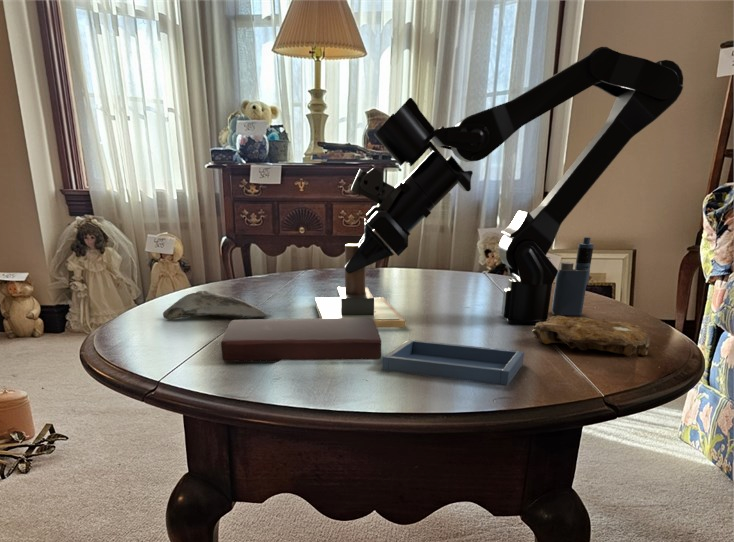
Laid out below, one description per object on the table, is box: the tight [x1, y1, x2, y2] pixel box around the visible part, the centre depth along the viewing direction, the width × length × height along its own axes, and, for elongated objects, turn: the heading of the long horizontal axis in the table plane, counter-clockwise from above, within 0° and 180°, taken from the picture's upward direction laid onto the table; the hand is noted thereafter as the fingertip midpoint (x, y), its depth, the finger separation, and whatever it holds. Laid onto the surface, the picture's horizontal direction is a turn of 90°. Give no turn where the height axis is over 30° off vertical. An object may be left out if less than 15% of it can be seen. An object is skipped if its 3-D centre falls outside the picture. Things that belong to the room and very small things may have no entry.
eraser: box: [337, 243, 374, 315], centre depth 101 cm, size 10×5×10 cm, turn 5°
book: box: [220, 317, 382, 363], centre depth 84 cm, size 12×19×3 cm, turn 94°
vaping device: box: [551, 237, 595, 317], centre depth 107 cm, size 3×5×12 cm, turn 89°
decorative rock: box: [531, 315, 651, 357], centre depth 87 cm, size 11×4×15 cm
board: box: [314, 296, 406, 329], centre depth 105 cm, size 20×12×2 cm, turn 7°
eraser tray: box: [381, 339, 525, 386], centre depth 77 cm, size 15×10×2 cm, turn 67°
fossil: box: [162, 290, 267, 320], centre depth 105 cm, size 11×5×15 cm
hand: (346, 269), depth 101 cm, fingers closed on eraser, 3 cm apart
